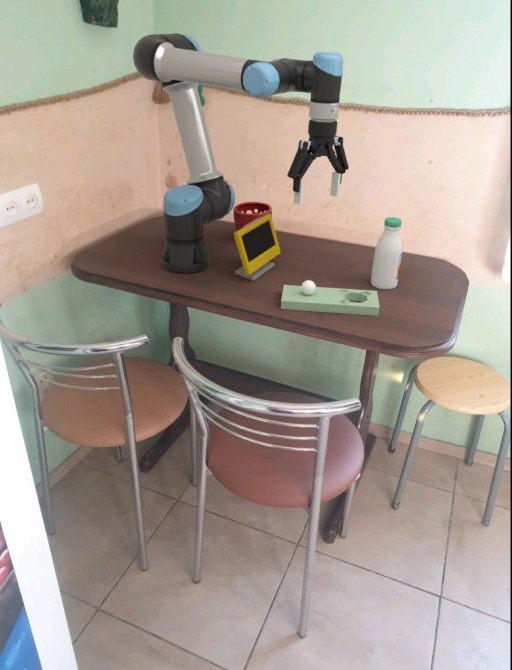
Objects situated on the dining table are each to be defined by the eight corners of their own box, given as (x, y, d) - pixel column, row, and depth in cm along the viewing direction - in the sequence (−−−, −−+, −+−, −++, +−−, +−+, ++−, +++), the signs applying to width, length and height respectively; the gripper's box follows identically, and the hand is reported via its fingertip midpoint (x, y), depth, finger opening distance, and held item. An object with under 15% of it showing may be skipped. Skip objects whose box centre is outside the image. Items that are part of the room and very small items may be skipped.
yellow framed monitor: (249, 285, 158) (250, 234, 150) (226, 279, 162) (226, 229, 154) (280, 262, 173) (282, 214, 165) (259, 257, 177) (260, 210, 169)
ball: (300, 297, 147) (301, 283, 145) (301, 290, 150) (301, 277, 148) (315, 298, 147) (316, 284, 144) (315, 291, 150) (316, 278, 148)
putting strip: (280, 308, 146) (281, 300, 145) (283, 292, 155) (283, 284, 153) (378, 315, 144) (379, 307, 142) (375, 299, 152) (376, 290, 151)
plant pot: (236, 232, 196) (236, 200, 190) (272, 235, 195) (274, 202, 189) (230, 245, 185) (230, 211, 179) (268, 248, 184) (269, 214, 178)
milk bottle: (391, 292, 156) (402, 225, 146) (366, 286, 159) (375, 220, 149) (400, 283, 162) (411, 218, 151) (376, 277, 165) (385, 213, 155)
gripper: (295, 125, 132) (290, 210, 143) (367, 117, 145) (357, 196, 156) (276, 120, 138) (273, 202, 149) (347, 113, 150) (339, 189, 161)
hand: (316, 199), depth 152 cm, fingers open, 13 cm apart
